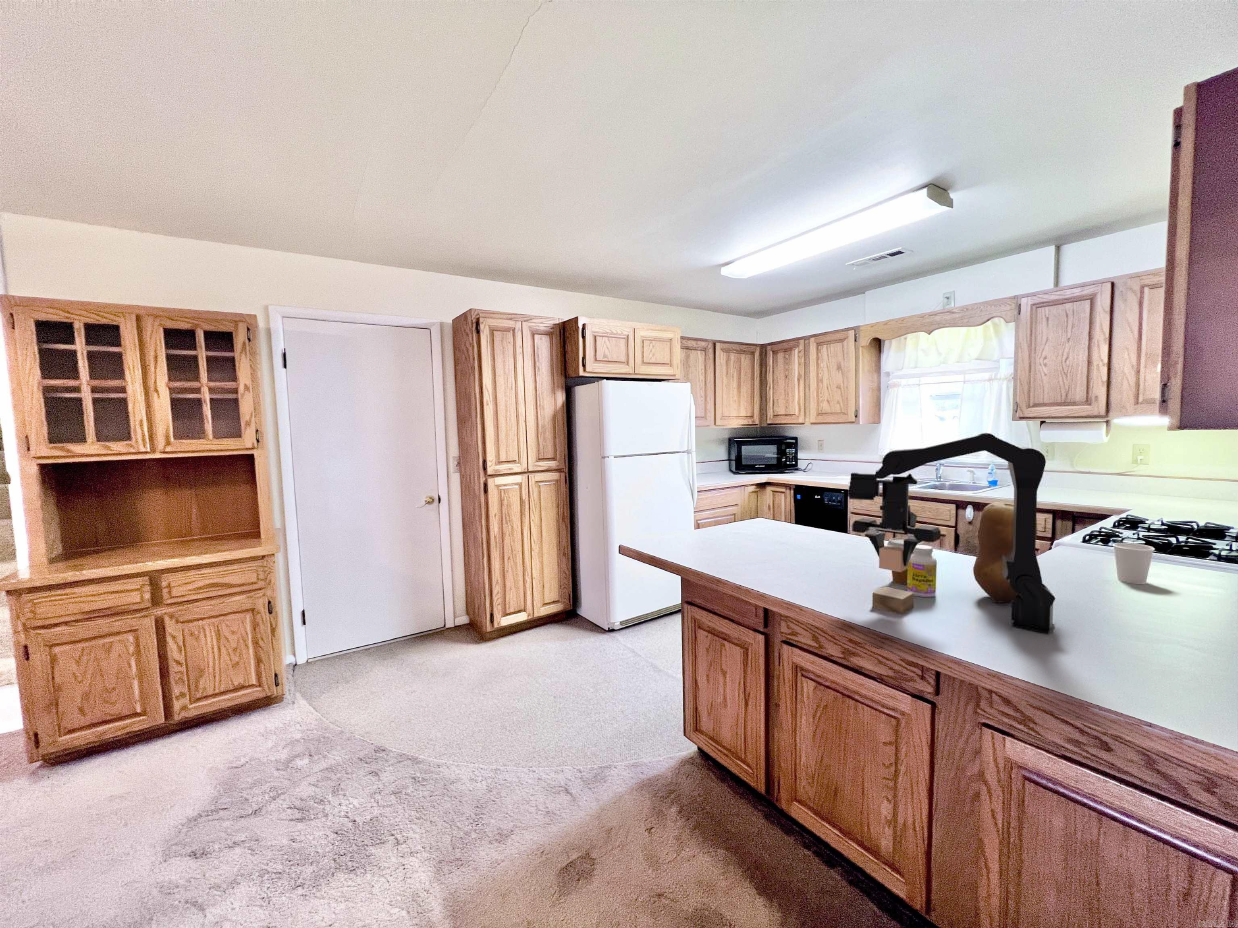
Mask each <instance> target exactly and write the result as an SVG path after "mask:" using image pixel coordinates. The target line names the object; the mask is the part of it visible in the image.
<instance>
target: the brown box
mask: <svg viewBox="0 0 1238 928" xmlns="http://www.w3.org/2000/svg"><path fill="white" fill-rule="evenodd" d="M871 596H872V600H871V602H872V604H871V605H872V608H873V609H879V610H881V611H886V612H890V613H894V614H899V615H904V614H905V613H907V612H909V611H910V610H912V609H914V602H915V597H914V596H915V595H914V593H912V592H908V591H906V590H902V589H899V588H893V587H888V586H883V587H881V588H878V589H877V590H875V591H873V592H872V595H871Z"/></svg>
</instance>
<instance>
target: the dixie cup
mask: <svg viewBox="0 0 1238 928" xmlns="http://www.w3.org/2000/svg"><path fill="white" fill-rule="evenodd" d="M1112 546H1113V550H1114V560H1115V567H1116V575H1117V580H1118V581H1120V582H1122V583H1123V582H1124V583H1128V584H1136V585H1145V584H1146V583H1147V579H1148V576H1149V571H1150V567H1151V562H1152V558H1153V553H1154V551H1155V549H1156V548H1154V547H1153V546H1150V545H1145V544H1139V543H1132V542H1131V543H1129V542H1115V543H1113V544H1112Z"/></svg>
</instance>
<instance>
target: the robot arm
mask: <svg viewBox="0 0 1238 928" xmlns="http://www.w3.org/2000/svg"><path fill="white" fill-rule="evenodd" d="M979 452H987V453H988V454H991V455H993V456H995V457H998V458H999V459H1002V460H1003V461H1006V462H1007V465H1008V470H1009V474H1010V478H1011V481H1012V487H1013V504H1014V515H1013V549H1012V552H1011V554H1010V557H1008V556H1002V558H1003V563H1004V567H1003V570H1002V574H1003V575H1004V577H1005V579H1006V580H1007V581H1008V583H1009V584H1010V586H1011V588H1012V589H1013V590H1014V591H1015V592H1017V593H1019V594H1018V595H1017V596H1016V597H1015V601H1013V602H1012V603H1011V604H1010V605H1011V609H1010V610H1011V611H1010V620H1011V626H1012V627H1016V628H1021V629H1025V630H1029V631H1034V632H1038V633H1044V634H1048V635H1049V634H1050V633H1051V632H1052V631H1053V629H1054V628H1055V623H1054V621H1053V619H1054V603H1055V600H1056V597H1055V596H1054V594H1053V593H1052V591H1051V590H1050V589H1049V588H1048V586H1046V584H1044V583H1043V579H1042V574H1041V569H1040V566H1039V565H1040V564H1039V562H1038V557H1037V554H1036V541H1037V536H1036V516H1037V507H1038V506H1037V503H1038V502H1037V501H1038V489H1039V487H1040V484H1041V481H1042V479H1043V477H1044V476H1043V475H1044V472H1045V467H1046V463H1047V460H1046V457H1045V455H1044V454H1043V452H1041V451H1039V450H1037V449H1035V448H1032V447H1031V448H1030V447H1025V446H1023V447H1018V446H1017V445H1014V444H1012V443H1010V442H1008V441H1005V440H1003V439H1001V438H999V437H997V436H995V435H993V434H992V433H988V432H981V433H979V434H976V435H974V436H970V437H964V438H961V439H955V440H952V441H948V442H944V443H943V442H942V443H939V444H934V445H930V446H926V447H922V448H921V447H920V448H908V449H907V448H903V449H895V450H893V449H892V450H891V451H888V452H887V453H885V455H884V457H883V458H882V461H881V464H882V466H881V467H879V469H876V470H875V473H860V472H851V473H850V481H849V486H848V499H849V500H857V501H875V498H877V497H880V484H881V505H879V510H880V511H881V522H880V521H879V523H878V522H877V520H876V519H873V518H872V519H871V518H870V519H869V518H859V519H855V520H854V521H853V522H852V524H851V532H853V533H861V534H864V533H865V534H864V537H867V538H868V540H869V541H870V543H871V544H872V546H873V549H874V550H875V553H876V554H877V556H878V558H879V548H881V547H884V546H885V538H886V533H891V534H897V535H904V536H905V535H906V536H907V538H908V539H905V540H904V548H903V563H904V566H907V565H908V562H909V560H910V558H911V555H912V553H913V551H914V549H915V547H916V546H917V544H918V543H920V542H923V543H924V542H926V543H934V542H937V541H940V540H941V538H942V536H941V533H942V532H941V529H940V528H939V527H938V526H930V525H920V526H916V525H917V518H918V514H915V513H914V512H912V511H911V505H909V493H910V492H909V488H910V487H909V485H917V484H918V479H916V478H915V477H914V476H913V475H912V473H908V474H907V475H906V476H901V474H904V473H906V472H909V471H912V470H914V469H917V468H919V467H922V466H924V465H926V464H930V463H933V462H939V461H945V460H949V459H951V458H957V457H961V456H966V455H970V454H975V453H979ZM890 475H892V479H885V478H887V477H889V476H890ZM897 475H899V476H897Z"/></svg>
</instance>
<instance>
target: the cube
mask: <svg viewBox="0 0 1238 928" xmlns="http://www.w3.org/2000/svg"><path fill="white" fill-rule="evenodd" d="M903 548H904V547H898V546H891V545H887V544H886V545H884V547H881V548H879V557H878V568H879V569H881V570H887V571H891V572H892V571H897V572H902V571H904V570H906V569H908V568H909V562H908V565H907V566H904V563H903Z"/></svg>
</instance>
